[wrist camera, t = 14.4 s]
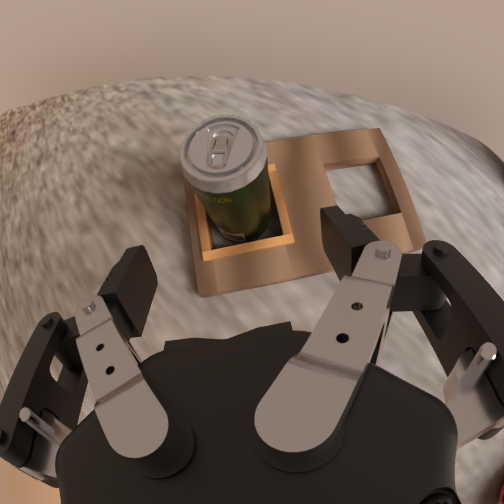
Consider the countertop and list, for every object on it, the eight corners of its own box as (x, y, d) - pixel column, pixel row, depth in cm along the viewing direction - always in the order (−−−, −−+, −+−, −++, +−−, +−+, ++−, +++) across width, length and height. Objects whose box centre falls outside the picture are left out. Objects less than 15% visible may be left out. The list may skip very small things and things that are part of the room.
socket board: (376, 135, 28) (380, 126, 26) (420, 249, 25) (428, 245, 23) (186, 168, 29) (181, 159, 27) (203, 297, 25) (198, 295, 24)
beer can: (269, 247, 26) (261, 187, 14) (212, 242, 27) (166, 184, 15) (274, 194, 27) (270, 112, 16) (220, 191, 28) (187, 113, 16)
